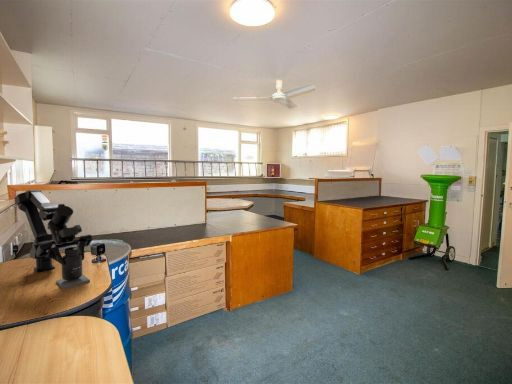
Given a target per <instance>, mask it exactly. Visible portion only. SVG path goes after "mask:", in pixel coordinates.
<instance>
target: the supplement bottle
mask: <svg viewBox="0 0 512 384" xmlns="http://www.w3.org/2000/svg"><path fill="white" fill-rule="evenodd" d="M63 254H64V255H63V256H62V258H63V260H64V262H65V265H62V264H61V279H63V280H74V279H78V278H80V277H81V276H82V274H83V260H82V255H81V254H79V247H77V246H68V247H65V248H64V253H63Z"/></svg>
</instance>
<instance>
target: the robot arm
mask: <svg viewBox="0 0 512 384" xmlns="http://www.w3.org/2000/svg"><path fill="white" fill-rule="evenodd" d="M14 204H15V205H16V206H17V208H18V210H21V212H24V213H25V216H26V218H27V221H28V223H29V227H30V229H31V230H30V231H31V232H32V234H33V237H34V240H33V242H32V246H31V248H30V250H29V257H30V258H31V259H34V260H35V267H33V270H34V271H35V272H37V273H41V272H44V271H48V270H53V269H55V268H56V266H54V264H53V260H54V261H56V262H57V263H59V264H60V265H61V266H62V265H65V262H64V260H63V258H62V257H63V256H62V254H61V253H60V249H65V248H69V247H74V246H76V247H79V254H81V255H82V261H84V259H85V247H89V246H90V245H91V243H92V242H93V240H94V238H93V235H91V234H85V235H84V234H83V235H80V236H79V238H78V239H76V235H79V234H80V233H81V232H82V231H83V229H82V226H81V225H80V224H77V225H74V226H71V227H68V225H67V224H68V223H69V221H70V220H71V218H72V216H73V214H74V210H73V208H71V207H70V206H68V205H66V204H65V203H59V204H57V203H52V202H51V201H50V200H49V199H48V198H47V197H46V196H45V195H44V194H43V192H42V190H41V189H28V190H26V191H24V192H22V193H18V194H16V196H15V197H14ZM43 221H44V222H45V221H48V223H47V229H46V227H45V224H44V222H43ZM48 230H49V231H50V233H48V232H47V231H48ZM75 239H76V240H75Z"/></svg>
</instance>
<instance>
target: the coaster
mask: <svg viewBox="0 0 512 384" xmlns="http://www.w3.org/2000/svg"><path fill="white" fill-rule="evenodd" d="M55 282H56V284H57V285H58V286H59V287H60V288H61V289H62V290H68V289H71V288H74V287H77V286H81V285H84V284H88V283H90V282H91V280H90V278H88V277H87V276H86V275H85V274H83V273H82V276H81V277H80V278H78V279H74V280H63V279H62V278H61V279H56V281H55Z"/></svg>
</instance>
